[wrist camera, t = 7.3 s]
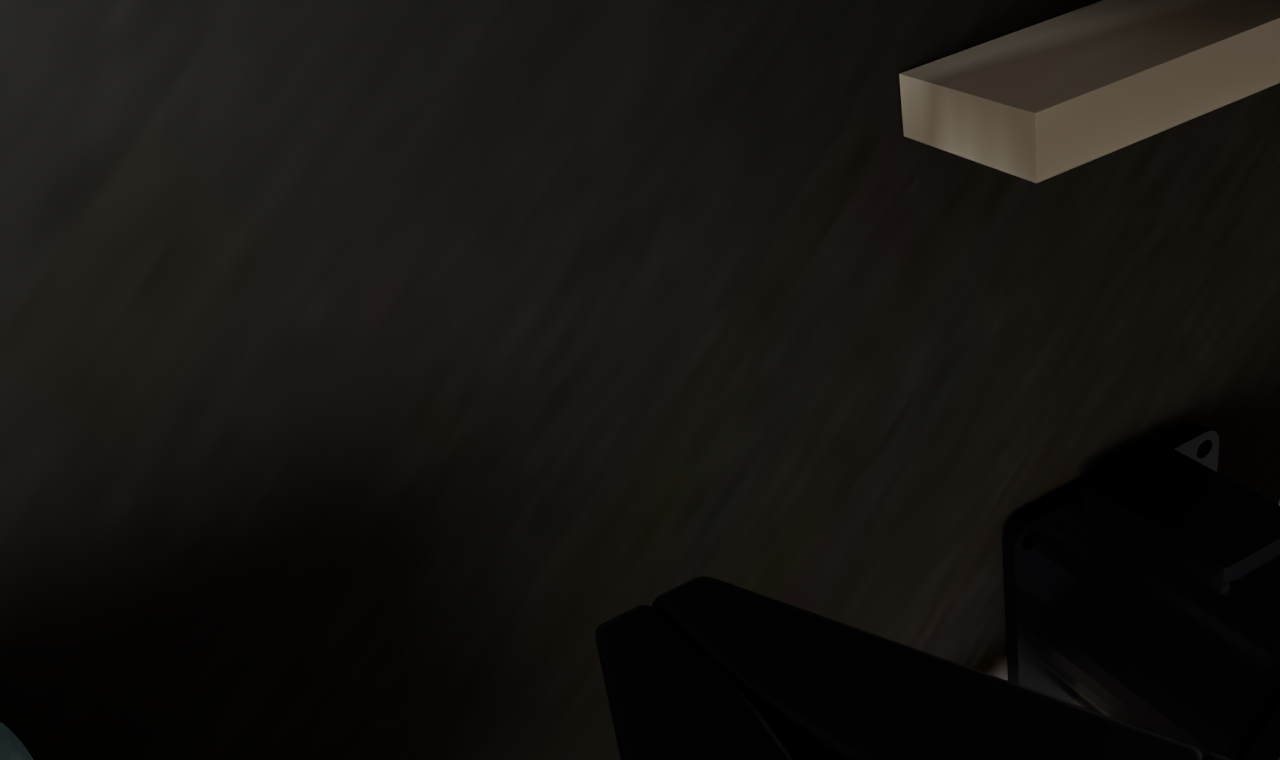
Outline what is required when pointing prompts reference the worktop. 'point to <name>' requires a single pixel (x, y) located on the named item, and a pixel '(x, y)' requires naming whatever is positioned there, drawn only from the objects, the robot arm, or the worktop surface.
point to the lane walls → (1091, 81)
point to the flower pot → (11, 746)
